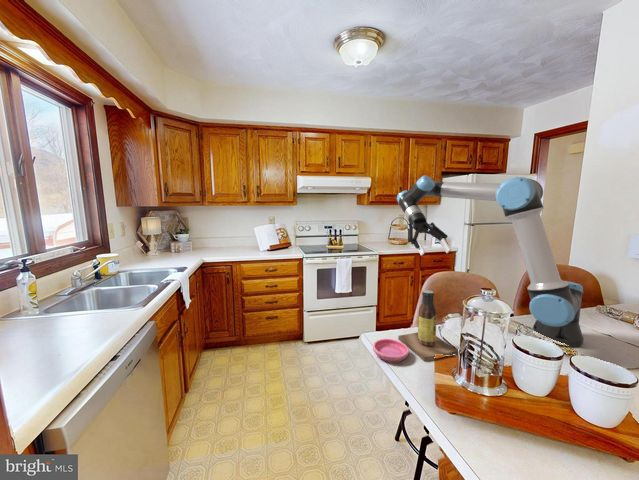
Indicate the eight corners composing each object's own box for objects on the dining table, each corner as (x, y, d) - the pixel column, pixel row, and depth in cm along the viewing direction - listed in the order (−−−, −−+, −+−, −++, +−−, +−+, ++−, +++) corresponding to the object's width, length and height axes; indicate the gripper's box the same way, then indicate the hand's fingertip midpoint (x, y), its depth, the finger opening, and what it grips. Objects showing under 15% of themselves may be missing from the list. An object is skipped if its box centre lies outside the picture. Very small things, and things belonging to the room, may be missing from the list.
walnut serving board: (428, 334, 112) (428, 330, 111) (457, 354, 96) (458, 350, 96) (398, 339, 108) (398, 335, 108) (424, 361, 93) (424, 357, 92)
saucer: (397, 344, 104) (398, 336, 104) (415, 362, 92) (416, 354, 92) (367, 348, 102) (367, 340, 101) (381, 367, 90) (382, 358, 89)
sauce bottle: (437, 347, 98) (439, 295, 95) (418, 346, 99) (420, 294, 97) (433, 339, 105) (435, 289, 102) (416, 337, 106) (418, 288, 103)
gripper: (432, 221, 137) (454, 255, 125) (389, 223, 130) (408, 259, 118) (440, 210, 132) (464, 245, 119) (396, 212, 124) (416, 249, 112)
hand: (436, 252), depth 119 cm, fingers open, 13 cm apart
